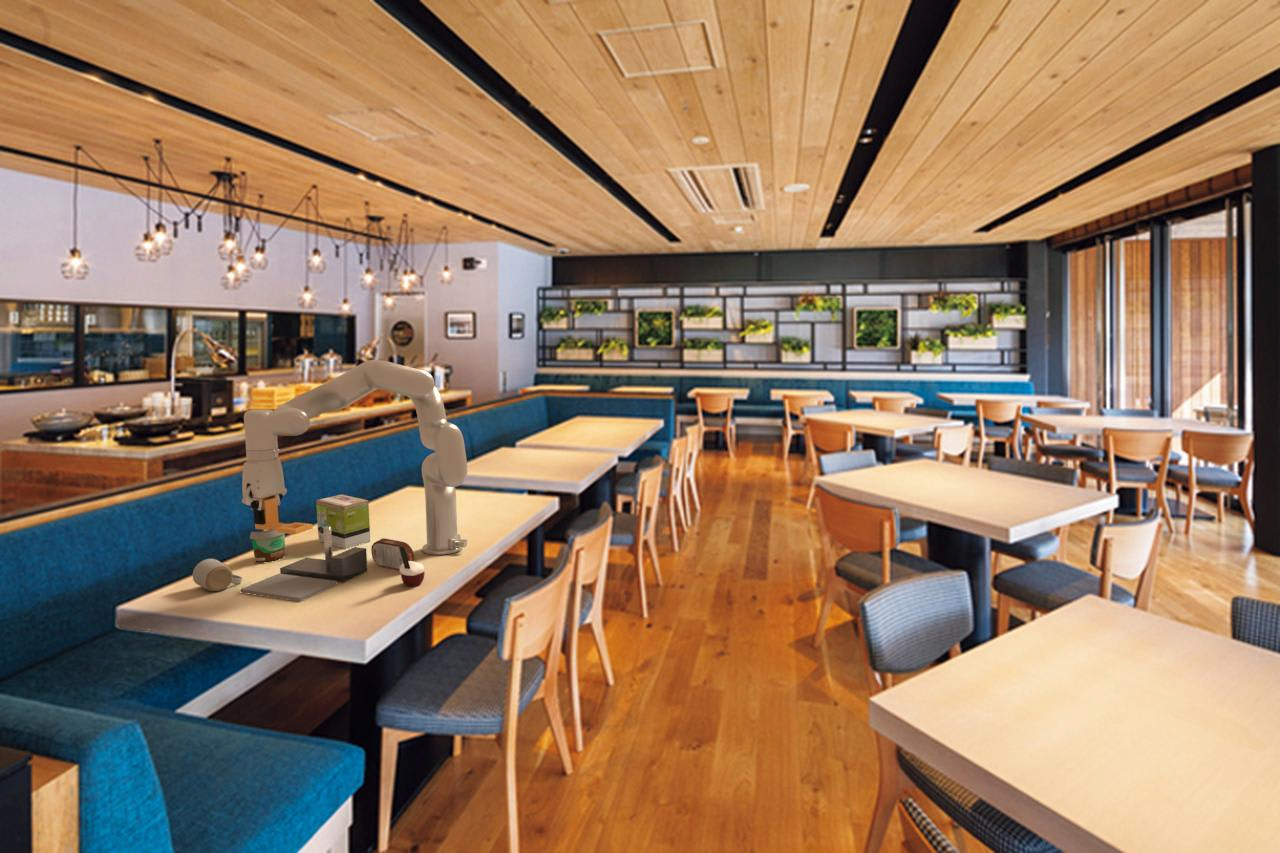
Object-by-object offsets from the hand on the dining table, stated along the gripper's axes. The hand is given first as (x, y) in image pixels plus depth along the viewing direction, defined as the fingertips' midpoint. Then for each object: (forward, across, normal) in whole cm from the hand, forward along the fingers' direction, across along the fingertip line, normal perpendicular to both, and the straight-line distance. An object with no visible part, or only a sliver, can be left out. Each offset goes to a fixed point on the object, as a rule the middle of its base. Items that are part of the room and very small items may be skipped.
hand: (266, 521), depth 185 cm
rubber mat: (+18, 0, +6) cm, 19 cm away
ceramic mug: (+19, +5, -13) cm, 23 cm away
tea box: (+19, -40, -10) cm, 45 cm away
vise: (+18, -13, +6) cm, 23 cm away
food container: (+19, -19, -18) cm, 32 cm away
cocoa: (+19, -13, +36) cm, 43 cm away
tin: (+19, -23, +22) cm, 37 cm away
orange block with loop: (+2, 0, +5) cm, 6 cm away
